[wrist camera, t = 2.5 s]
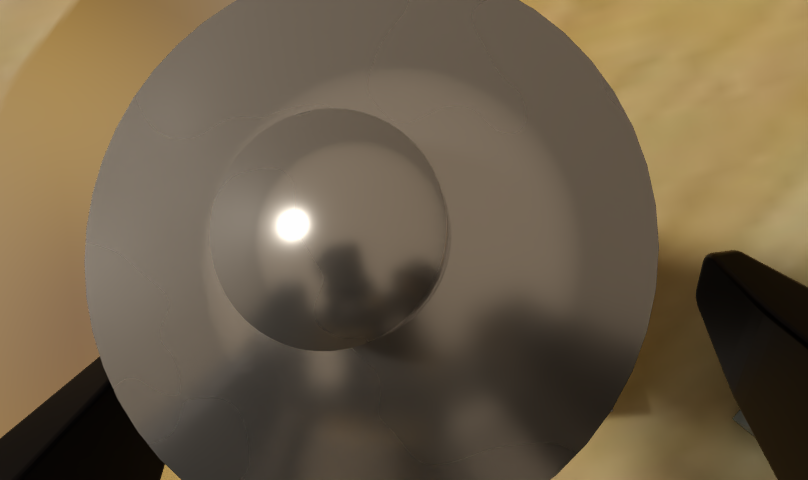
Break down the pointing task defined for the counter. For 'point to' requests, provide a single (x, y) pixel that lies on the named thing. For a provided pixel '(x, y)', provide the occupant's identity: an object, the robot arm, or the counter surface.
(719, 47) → the counter surface
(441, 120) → the battery
